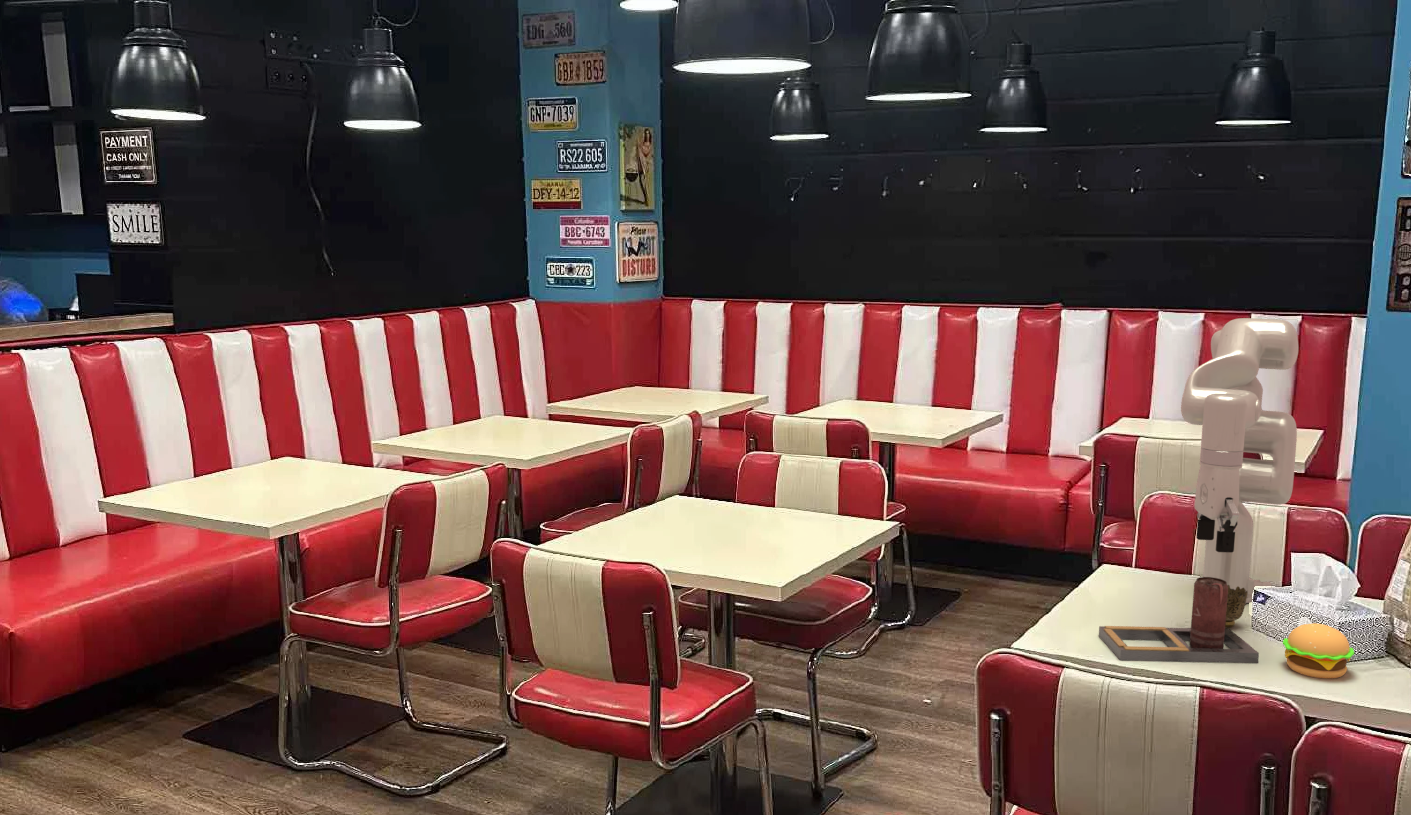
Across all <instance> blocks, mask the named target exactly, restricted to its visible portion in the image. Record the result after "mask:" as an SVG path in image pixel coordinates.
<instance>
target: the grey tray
mask: <svg viewBox="0 0 1411 815" xmlns="http://www.w3.org/2000/svg"><path fill="white" fill-rule="evenodd" d="M1190 634H1191V627H1165V626H1128V625H1127V626H1126V625H1125V626H1124V625H1123V626H1122V625H1104V626H1103V625H1102V626H1101V625H1100V626H1099V627H1098V637H1099V638H1100V639H1101V641H1102V642H1103V643H1104V644H1105V645H1106V646H1107V647H1108V649H1110V651H1111V652H1112V653H1113V654H1114V655H1115V657H1117V659H1118V660H1119V661H1139V662H1182V663H1183V662H1186V663H1189V662H1190V663H1191V662H1193V663H1235V664H1236V663H1238V664H1239V663H1242V664H1259V654H1260V653H1259V652H1258V651H1257V650H1256V649H1254V647H1252V646H1251V645H1250V644H1249V643H1247V642H1246V641H1245V640H1243V639H1242V638H1241V637H1240V636H1239V635H1238V634H1236V633H1235V631H1232V629H1230V628H1225V635H1224V645H1226V646H1227V647H1228V648H1223V649H1211V648H1191V646H1190V645H1188V643H1186V642H1190ZM1123 640H1124V641H1125V640H1126V641H1127V640H1128V641H1129V640H1130V641H1135V640H1136V641H1162V642H1163V643H1164V644H1165V645H1166V646H1128V644H1126V642H1124V641H1123Z"/></svg>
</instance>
